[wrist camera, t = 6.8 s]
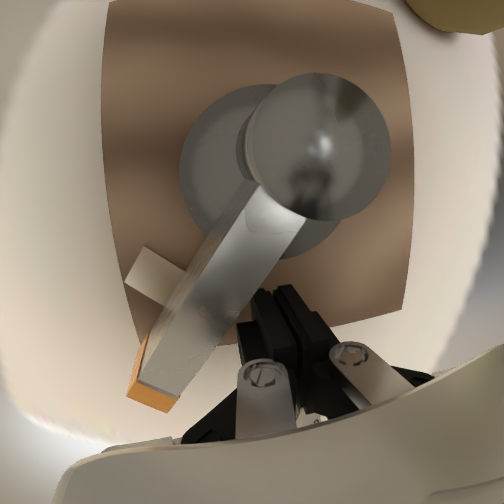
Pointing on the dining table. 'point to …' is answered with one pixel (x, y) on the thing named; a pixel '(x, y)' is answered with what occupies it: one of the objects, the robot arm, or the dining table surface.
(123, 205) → the walnut stand
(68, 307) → the dining table surface
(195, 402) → the dining table surface
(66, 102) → the dining table surface
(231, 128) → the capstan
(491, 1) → the squeeze bottle
